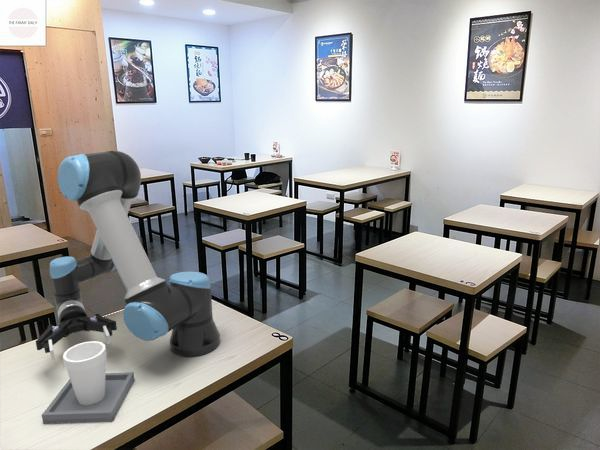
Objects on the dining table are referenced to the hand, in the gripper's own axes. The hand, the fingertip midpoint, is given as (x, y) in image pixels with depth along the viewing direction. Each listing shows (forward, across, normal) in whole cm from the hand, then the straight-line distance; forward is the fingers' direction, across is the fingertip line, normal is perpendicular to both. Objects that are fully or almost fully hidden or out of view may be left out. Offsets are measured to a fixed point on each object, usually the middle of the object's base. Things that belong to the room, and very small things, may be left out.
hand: (81, 347), depth 115 cm
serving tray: (+10, 0, -10) cm, 14 cm away
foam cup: (+10, 0, -9) cm, 14 cm away
